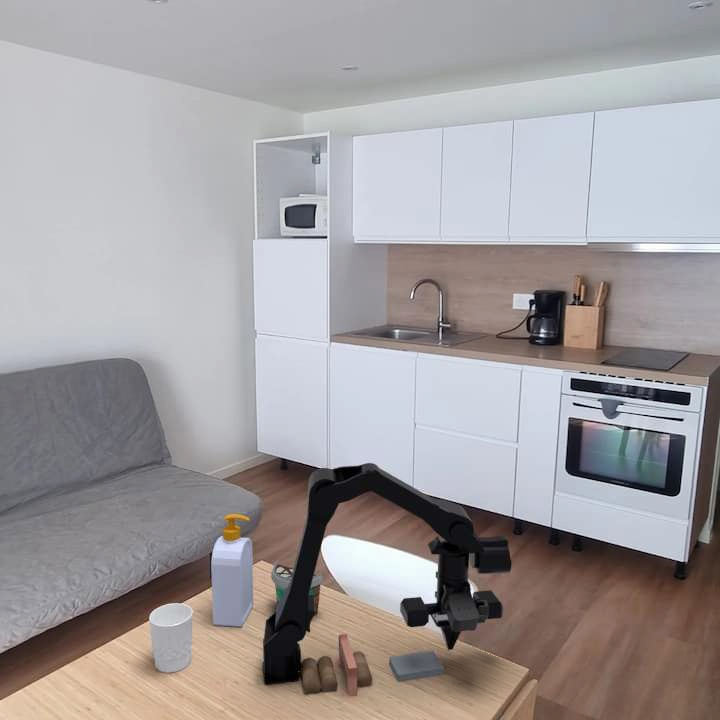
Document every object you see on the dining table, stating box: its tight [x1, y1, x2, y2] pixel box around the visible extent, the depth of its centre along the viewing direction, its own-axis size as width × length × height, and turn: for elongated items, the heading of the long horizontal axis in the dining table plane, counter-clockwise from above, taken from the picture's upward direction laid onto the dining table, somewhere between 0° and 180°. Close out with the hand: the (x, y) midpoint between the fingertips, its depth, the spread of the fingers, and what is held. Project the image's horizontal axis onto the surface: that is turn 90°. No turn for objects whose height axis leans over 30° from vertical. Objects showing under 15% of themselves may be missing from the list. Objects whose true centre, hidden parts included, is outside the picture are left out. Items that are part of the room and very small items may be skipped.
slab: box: [388, 650, 445, 683], centre depth 123 cm, size 9×6×2 cm, turn 104°
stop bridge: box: [338, 633, 358, 697], centre depth 120 cm, size 2×10×6 cm, turn 12°
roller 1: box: [300, 657, 322, 695], centre depth 119 cm, size 3×6×3 cm, turn 10°
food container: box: [270, 560, 324, 617], centre depth 140 cm, size 12×6×10 cm, turn 62°
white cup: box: [148, 602, 194, 674], centre depth 124 cm, size 8×8×10 cm
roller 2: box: [316, 655, 339, 693], centre depth 120 cm, size 3×6×3 cm
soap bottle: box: [210, 513, 254, 628], centre depth 139 cm, size 9×7×23 cm
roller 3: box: [352, 651, 373, 688], centre depth 121 cm, size 3×6×3 cm
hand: (449, 648), depth 124 cm, fingers closed
